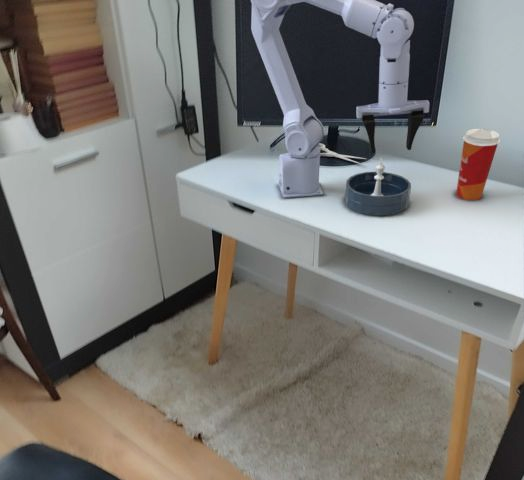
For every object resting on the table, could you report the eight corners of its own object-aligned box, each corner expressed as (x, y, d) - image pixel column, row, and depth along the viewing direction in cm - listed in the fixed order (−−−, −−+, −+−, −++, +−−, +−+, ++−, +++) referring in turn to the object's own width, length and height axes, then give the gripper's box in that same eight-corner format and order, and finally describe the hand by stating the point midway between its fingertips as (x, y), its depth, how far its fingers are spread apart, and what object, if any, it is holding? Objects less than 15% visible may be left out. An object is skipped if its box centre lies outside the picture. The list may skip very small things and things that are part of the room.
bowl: (353, 218, 118) (355, 199, 116) (338, 192, 129) (339, 173, 127) (417, 213, 120) (420, 194, 117) (396, 188, 131) (399, 169, 128)
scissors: (312, 141, 155) (376, 154, 145) (312, 144, 155) (376, 157, 146) (291, 153, 148) (357, 167, 139) (291, 155, 149) (357, 170, 139)
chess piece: (386, 197, 126) (392, 153, 120) (388, 206, 122) (393, 162, 116) (364, 196, 126) (369, 153, 120) (365, 205, 123) (370, 161, 116)
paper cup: (456, 186, 131) (468, 125, 122) (489, 192, 127) (504, 130, 119) (447, 198, 125) (459, 136, 116) (481, 205, 122) (497, 141, 113)
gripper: (358, 89, 107) (358, 158, 115) (434, 82, 105) (428, 153, 113) (355, 81, 112) (355, 148, 120) (427, 74, 111) (422, 142, 119)
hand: (390, 149), depth 117 cm, fingers open, 7 cm apart
